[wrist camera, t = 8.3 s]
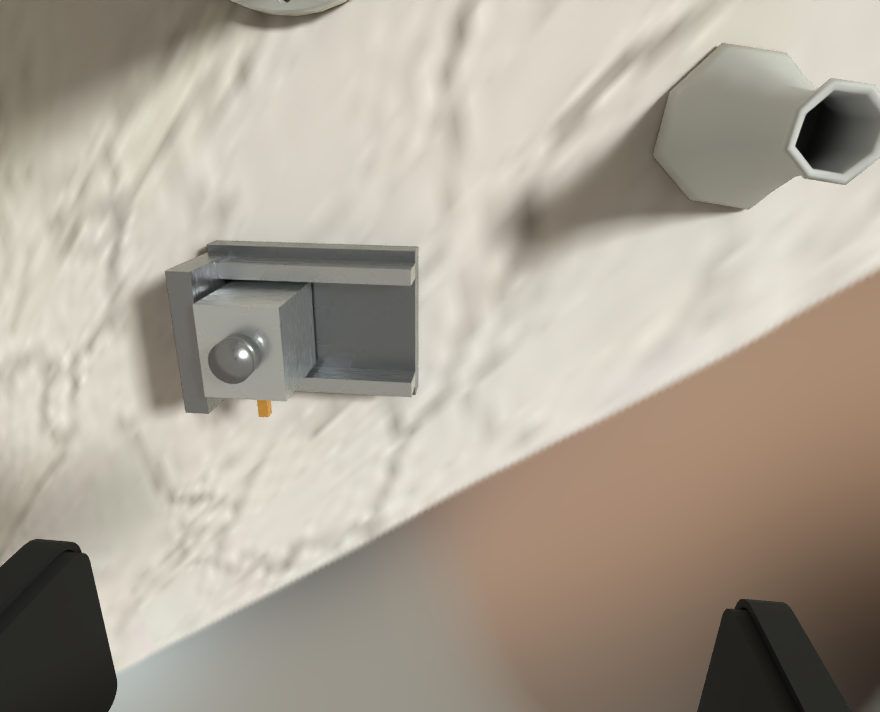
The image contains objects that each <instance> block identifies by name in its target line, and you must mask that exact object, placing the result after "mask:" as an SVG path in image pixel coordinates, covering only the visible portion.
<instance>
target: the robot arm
mask: <svg viewBox="0 0 880 712" xmlns="http://www.w3.org/2000/svg"><path fill="white" fill-rule="evenodd" d="M230 1H233V2H235V3H237V4H239V5H242V6H244V7H246V8H249V9H253V10H256V11H260V12H264V13H267V14H271V15H286V16H300V15H306V14H312V13H318V12H322V11H325V10H327V9H329V8H332V7H334V6H337V5H339V4H342V3H344V2H346V1H347V0H290V1H289V2H286V1H285V0H230ZM116 691H117V678H116V674H115V669H114V665H113V660H112V656H111V652H110V647H109V643H108V638H107V634H106V630H105V625H104V621H103V616H102V612H101V607H100V603H99V599H98V594H97V590H96V585H95V581H94V577H93V572H92V568H91V563H90V560H89V557H88V556H87V555H86V554H85V553H82V552H81V549H80V547H79V546H78V545H77V544H76V543H74V542H67V541H55V540H43V539H35V540H31V541H29V542H28V543H27V544H25V545H24V546H23V547H22V548H21V549H19V550H18V551H17V552H16V553H15V554H14V555H13V556H12V557H11V558H10V559H9V560H8V561H6V562H5V563H4V564H3V565H2V566H1V567H0V712H108V711H109V709H110V708H111V706H112V704H113V701H114V699H115V695H116ZM697 712H851V710H850V708H849V707H848V705H847V703H846V701H845V700H844V698H843V696H842V695H841V693H840V691H839V689H838V688H837V686H836V684H835V683H834V681H833V679H832V678H831V676H830V674H829V672H828V671H827V669H826V667H825V665H824V664H823V662H822V660H821V659H820V657H819V655H818V654H817V652H816V650H815V648H814V647H813V645H812V643H811V642H810V640H809V638H808V636H807V635H806V633H805V631H804V630H803V628H802V626H801V624H800V623H799V621H798V619H797V618H796V616H795V614H794V612H793V611H792V610H791V608H790V607H789V606H788V605H787V604H785V603H783V602H772V601H761V600H749V599H741V600H739V601H738V603H737V605H736V607H735V609H726V610H725V611H724V613H723V615H722V619H721V623H720V627H719V631H718V634H717V638H716V642H715V646H714V650H713V653H712V657H711V661H710V665H709V669H708V673H707V676H706V680H705V684H704V688H703V692H702V696H701V700H700V703H699V707H698V711H697Z"/></svg>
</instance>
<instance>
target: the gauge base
mask: <svg viewBox="0 0 880 712" xmlns="http://www.w3.org/2000/svg"><path fill="white" fill-rule="evenodd" d="M207 251H208V252H207V253H205V254H202V255H200V256H198V257H196V258H193V259H191V260H189V261H186V262H184V263H182V264H180V265H177V266H175V267H173V268H171V269H168V270H166V271H165V275H166V282H167V289H168V295H169V302H170V309H171V316H172V323H173V329H174V336H175V343H176V350H177V356H178V363H179V370H180V377H181V384H182V390H183V397H184V404H185V411H186V412H187V413H205V414H209V413H210V412H211V411H212V410H213V409H214V408H215V407H216V406H217V405H218V404H219V403H220V402H221V401H222V400H223V399H224V398H215V397H205V394H204V386H203V379H202V371H201V364H200V357H199V349H198V342H197V334H196V327H195V319H194V312H193V304H194V303H196V302H197V301H199V300H201V299H203V298H204V297H206V296H208V295H209V294H211V293H213V292H214V291H216V290H218V289H220V288H221V287H223V286H225V285H226V284H228V283H230V282H231V281H233V280H235V279H237V280H265V281H292V282H311V290H312V306H313V322H314V338H315V354H316V364H315V365H314V366H313V368H312V369H311V370H310V371H309V373H308V374H307V375H306V377H305V378H304V379H303V380H302V382H301V383H300V384H299V386H298V387H297V388H296V389H295V391H306V392H325V393H345V394H364V395H383V396H402V397H411V396H412V395H416V391H417V388H418V247H409V246H377V245H345V244H313V243H281V242H249V241H214V242H212V243H209V244H207Z"/></svg>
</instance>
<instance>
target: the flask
mask: <svg viewBox="0 0 880 712" xmlns="http://www.w3.org/2000/svg"><path fill="white" fill-rule="evenodd" d="M653 157H654V158H655V159H656V160H657V162H658V163H659V164H660V165H661V166H662V168H663V169H664V170H665V171H666V172H667V174H668V175H669V176H670V177H671V178H672V179H673V181H674V182H675V183H676V184H677V185H678V187H679V188H680V189H681V190H682V191H683V193H684V194H685V195H686V196H687V197H688V199H689V200H694V201H700V202H706V203H712V204H718V205H724V206H730V207H736V208H742V209H750V208H751V207H753V206H754V205H756V204H757V203H758V202H759V201H761V200H762V199H763V198H765V197H766V196H767V195H768V194H770V193H771V192H772V191H774V190H775V189H777V188H778V187H780V186H781V185H783V184H785V183H786V182H788V181H789V180H791V179H792V178H794V177H795V176H800V175H801V176H802V177H803V178H805V179H811V180H817V181H823V182H829V183H836V184H842V185H846V184H847V183H849V182H850V181H851V180H852V179H854V178H855V177H856V176H857V175H859V174H860V173H861V172H863V171H864V170H865V169H866V168H868V167H869V166H870V165H872V164H873V163H874V162H875V161H877V160H878V159H879V158H880V91H879V90H878V88H877V87H876V86H875V85H873V84H866V83H860V82H854V81H847V80H841V79H835V78H831V79H829V80H828V81H827V82H825V83H824V84H823V85H822V86H821V87H820V88H818V89H817V88H816V87H815V86H814V85H813V84H812V83H811V82H810V81H809V80H808V79H807V78H806V77H805V76H804V74H803V73H802V72H801V71H800V69H799V68H798V67H797V65H796V64H795V63H794V61H793V60H792V59H791V57H790V56H789V55H788V54H787V53H783V52H777V51H770V50H764V49H758V48H751V47H745V46H739V45H732V44H726V43H722V44H721V45H719V46H718V47H717V48H716V49H715V50H714V51H713V52H712V53H711V54H710V55H709V56H708V57H706V58H705V59H704V60H703V61H702V62H701V63H700V64H699V65H698V66H697V67H696V68H695V69H694V70H692V71H691V72H690V73H689V74H688V75H687V76H686V77H685V78H684V79H683V80H682V81H681V82H679V83H678V84H677V85H676V86H675V87H674V88H673V89H672V90H671V91H670V92H669V96H668V99H667V103H666V107H665V111H664V114H663V118H662V122H661V126H660V130H659V133H658V137H657V141H656V145H655V148H654V152H653Z"/></svg>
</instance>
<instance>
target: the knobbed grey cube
mask: <svg viewBox="0 0 880 712" xmlns="http://www.w3.org/2000/svg"><path fill="white" fill-rule="evenodd" d="M193 312H194V319H195V327H196V334H197V342H198V349H199V357H200V364H201V371H202V379H203V386H204V394H205V397H215V398H234V399H252V400H257V402H258V412H259V417H269V416H270V414H271V413H272V410H271V401H287V400H288V398H289V397H290V396H291V395H292V393H293V392H294V391H295V389H296V388H297V387H298V386H299V384H300V383H301V382H302V380H303V379H304V378H305V377H306V375H307V374H308V373H309V371H310V370H311V369H312V368H313V366H314V365H315V364H316V354H315V338H314V322H313V306H312V290H311V282H292V281H265V280H237V279H235V280H233V281H231V282H230V283H228V284H226V285H225V286H223V287H221V288H220V289H218V290H216V291H214V292H213V293H211V294H209V295H208V296H206V297H204V298H203V299H201V300H199V301H197V302H196V303H194V304H193Z"/></svg>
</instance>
